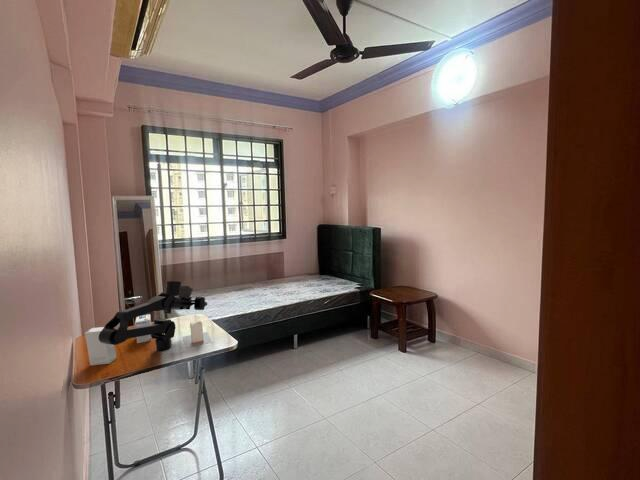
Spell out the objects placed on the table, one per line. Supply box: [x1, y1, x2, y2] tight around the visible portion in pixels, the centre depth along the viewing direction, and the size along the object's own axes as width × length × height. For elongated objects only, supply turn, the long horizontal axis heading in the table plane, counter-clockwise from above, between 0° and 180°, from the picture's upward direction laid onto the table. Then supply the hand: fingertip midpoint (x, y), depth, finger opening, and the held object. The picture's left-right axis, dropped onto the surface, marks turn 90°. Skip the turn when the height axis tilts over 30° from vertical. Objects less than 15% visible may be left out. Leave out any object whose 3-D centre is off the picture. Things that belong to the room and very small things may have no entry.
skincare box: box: [84, 326, 117, 366], centre depth 145 cm, size 8×6×15 cm
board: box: [180, 324, 213, 349], centre depth 168 cm, size 28×12×1 cm, turn 26°
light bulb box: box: [134, 313, 152, 344], centre depth 171 cm, size 11×7×11 cm, turn 25°
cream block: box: [189, 320, 204, 344], centre depth 160 cm, size 4×5×9 cm
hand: (200, 303), depth 176 cm, fingers open, 9 cm apart
